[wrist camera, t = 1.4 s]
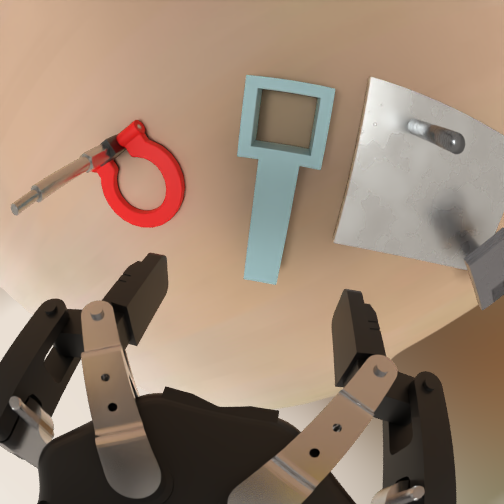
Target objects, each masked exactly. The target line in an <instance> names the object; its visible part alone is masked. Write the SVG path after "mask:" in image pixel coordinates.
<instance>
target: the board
mask: <svg viewBox="0 0 504 504" xmlns="http://www.w3.org/2000/svg"><path fill="white" fill-rule="evenodd" d="M412 119H417V120H421V121H424V122H428V123H431V124H434V125H437V126H441V127H444V128H447V129H450V130H453V131H456V132H458V133H460V134H462V136H463V137H464V139H465V148H464V150H463V152H462V153H460V154H454V153H452V152H450V151H448V150H445V149H443V148H441V147H439V146H437V145H435V144H433V143H431V142H428V141H426V140H424V139H422V138H419V137H417V136H415V135H412V134H411V133H410V132H409V130H408V122H409V121H410V120H412ZM503 212H504V136H503V135H502V134H500V133H499V132H497V131H495V130H494V129H492V128H490V127H489V126H487V125H485V124H483V123H481V122H480V121H478V120H476V119H474V118H472V117H470V116H468V115H466V114H464V113H462V112H460V111H458V110H456V109H454V108H452V107H450V106H448V105H446V104H444V103H441V102H439V101H437V100H434V99H432V98H430V97H427V96H425V95H422V94H420V93H417V92H415V91H412V90H410V89H407V88H404V87H401V86H398V85H396V84H393V83H390V82H387V81H383V80H380V79H377V78H374V77H369V78H368V84H367V90H366V96H365V102H364V107H363V113H362V118H361V123H360V128H359V133H358V138H357V143H356V148H355V152H354V157H353V161H352V166H351V170H350V174H349V179H348V183H347V187H346V191H345V195H344V199H343V203H342V207H341V210H340V214H339V218H338V222H337V225H336V229H335V232H334V236H333V242H334V243H337V244H342V245H348V246H353V247H358V248H363V249H368V250H373V251H378V252H383V253H388V254H393V255H398V256H403V257H408V258H413V259H417V260H422V261H427V262H432V263H436V264H441V265H445V266H450V267H455V268H459V269H464V270H467V267H466V264H465V262H464V259H463V258H465V257H466V256H467V255H469V254H470V253H471V252H473V251H474V250H475V249H477V248H478V247H479V246H480V245H482V244H483V243H484V242H486V241H487V240H488V239H489V238H491V237H492V236H493V235H494V234H495V232H496V230H497V227H498V225H499V222H500V220H501V217H502V215H503Z"/></svg>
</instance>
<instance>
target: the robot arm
mask: <svg viewBox="0 0 504 504" xmlns="http://www.w3.org/2000/svg"><path fill="white" fill-rule="evenodd" d="M167 289H168V271H167V258H166V256H165V255H160V254H155V253H149V254H148V255H147V256H146V257H145V258H144V260H143V261H142V262H140V261H137V262H135V263H134V264H132V265H130V266H129V267H128V268H127V269H126V270H125V272H124V273H123V275H121V277H120V278H119V279H118V281H117V282H116V283H115V284H114V285H113V287H112V288H111V289H110V290H109V292H108V293H107V294H106V296H105V297H104V298H103V300H102V301H94V302H91V303H89V304H87V305H86V306H85V307H84V308H83V310H76V309H67V308H66V305H65V303H64V302H63V301H62V300H60V299H50V300H47V301H45V302H44V303H43V304H42V305H41V306H40V307H39V308H38V310H37V311H36V312H35V313H34V315H33V316H32V317H31V319H30V320H29V321H28V323H27V324H26V325H25V327H24V328H23V330H22V331H21V332H20V334H19V335H18V337H17V338H16V339H15V341H14V342H13V344H12V345H11V347H10V348H9V350H8V351H7V353H6V354H5V356H4V357H3V359H2V360H1V362H0V446H1V447H3V448H4V449H6V450H7V451H9V452H10V453H13V454H14V455H16V456H17V457H19V458H21V459H24V460H26V461H27V462H29V463H30V464H32V465H33V466H35V467H37V468H38V471H39V481H40V493H39V500H38V503H37V504H356V503H355V502H354V501H353V500H352V498H351V497H350V496H349V495H348V493H347V492H346V491H345V490H344V488H343V487H342V486H341V485H340V483H339V482H338V481H337V479H336V478H335V477H334V475H333V474H332V473H331V470H332V469H333V468H334V467H335V466H336V464H337V463H338V462H339V461H340V459H341V458H342V457H343V456H344V455H345V454H346V452H347V451H348V450H349V449H350V447H351V446H352V445H353V444H354V442H355V441H356V440H357V439H358V437H359V436H360V435H361V433H362V432H363V431H364V429H365V428H366V426H367V425H368V424H369V422H370V421H371V419H372V418H373V417H375V418H378V419H381V420H383V489H382V490H380V491H379V492H377V493H376V494H375V496H374V497H373V499H372V501H371V504H456V479H455V478H456V477H455V464H454V454H453V445H452V438H451V431H450V424H449V419H448V413H447V407H446V402H445V397H444V392H443V388H442V384H441V382H440V380H439V379H438V377H437V376H435V375H434V374H432V373H430V372H426V371H425V372H421V373H419V374H418V375H417V376H416V377H415V378H414V377H411V376H408V375H406V374H403V373H400V372H398V371H397V368H396V365H395V364H394V362H393V361H392V360H391V359H389V358H388V357H386V353H385V349H384V344H383V340H382V336H381V331H380V327H379V324H378V319H377V315H376V312H375V311H374V310H373V308H372V307H371V305H370V304H364V300H363V296H362V293H361V291H355V290H349V289H344V291H343V293H342V295H341V298H340V300H339V303H338V305H337V307H336V310H335V312H334V315H333V319H332V338H333V353H334V370H335V387H344V388H343V390H341V391H340V392H339V393H338V394H337V395H336V396H335V397H334V398H333V399H332V401H331V402H330V403H329V404H328V405H327V406H326V407H325V408H324V409H323V410H322V411H321V412H320V414H319V415H318V416H317V417H316V418H315V419H314V420H313V421H312V422H311V423H310V424H309V425H308V426H307V427H306V428H305V429H304V430H303V431H302V432H300V431H299V430H298V429H297V428H296V427H294V426H293V425H291V424H290V423H288V422H286V421H284V420H282V419H279V418H278V414H279V411H278V410H271V409H264V408H258V407H252V406H246V407H219V406H216V405H214V404H212V403H210V402H208V401H206V400H204V399H202V398H200V397H198V396H196V395H194V394H191V393H187V392H184V391H180V390H176V389H173V388H169V387H166V386H165V389H164V391H163V393H153V394H146V395H143V396H139V393H138V390H137V388H136V385H135V381H134V378H133V375H132V371H131V368H130V364H129V361H128V357H127V353H126V350H125V349H126V347H127V345H128V344H132V345H135V346H137V345H138V343H139V342H140V340H141V338H142V336H143V334H144V332H145V331H146V329H147V327H148V325H149V323H150V322H151V320H152V318H153V316H154V315H155V313H156V311H157V309H158V308H159V306H160V304H161V302H162V301H163V299H164V297H165V295H166V293H167ZM52 345H54V346H53V348H52V349H51V351H50V353H49V355H48V356H47V358H46V359H45V356H46V354H47V353H48V351H49V349H50V348H51V347H52ZM44 359H45V361H44ZM81 359H82V366H83V374H84V380H85V386H86V391H87V396H88V402H89V407H90V412H91V417H92V421H90V422H88V423H86V424H84V425H82V426H80V427H78V428H76V429H74V430H72V431H70V432H68V433H66V434H64V435H61V436H59V437H57V438H55V439H53V440H52V438H53V437H54V432H53V430H54V424H53V421H52V419H51V417H52V415H53V413H54V410H55V408H56V406H57V404H58V402H59V400H60V398H61V396H62V394H63V392H64V390H65V388H66V386H67V384H68V382H69V380H70V378H71V376H72V374H73V373H74V371H75V369H76V367H77V365H78V363H79V361H80V360H81Z"/></svg>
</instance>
